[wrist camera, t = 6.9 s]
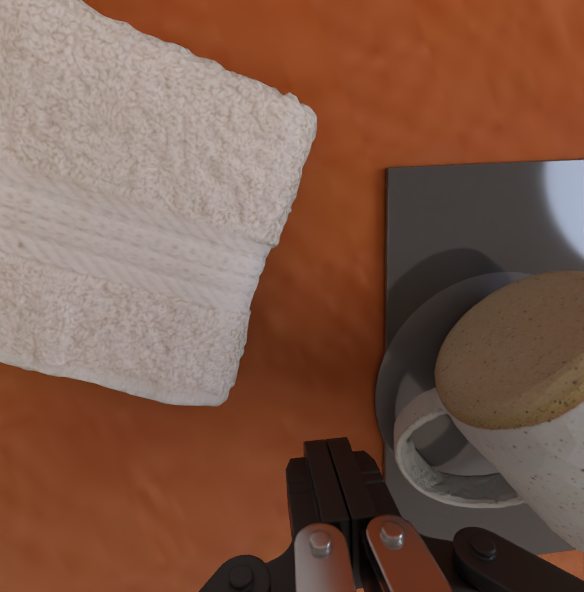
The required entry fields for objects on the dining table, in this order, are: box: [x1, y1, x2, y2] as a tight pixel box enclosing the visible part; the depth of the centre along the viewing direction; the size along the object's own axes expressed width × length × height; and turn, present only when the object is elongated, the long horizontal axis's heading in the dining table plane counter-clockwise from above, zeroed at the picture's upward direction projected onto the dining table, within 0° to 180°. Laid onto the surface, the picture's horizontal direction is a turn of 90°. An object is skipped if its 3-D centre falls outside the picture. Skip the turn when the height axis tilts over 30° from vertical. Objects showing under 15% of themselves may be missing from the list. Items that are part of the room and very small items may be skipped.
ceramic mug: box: [394, 271, 584, 553], centre depth 14 cm, size 11×8×8 cm
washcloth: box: [0, 0, 317, 406], centre depth 13 cm, size 12×18×3 cm, turn 71°
